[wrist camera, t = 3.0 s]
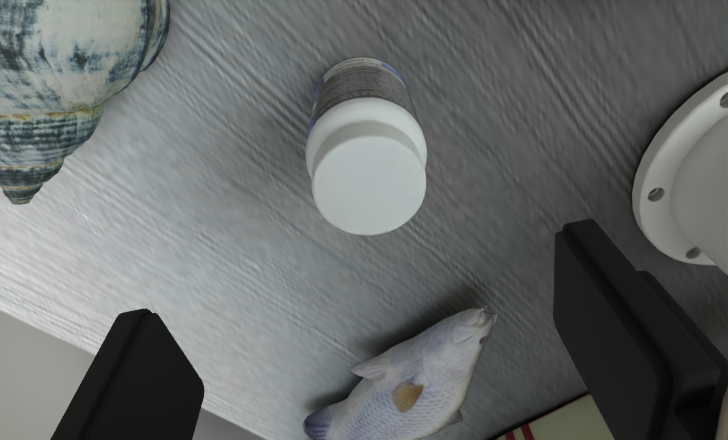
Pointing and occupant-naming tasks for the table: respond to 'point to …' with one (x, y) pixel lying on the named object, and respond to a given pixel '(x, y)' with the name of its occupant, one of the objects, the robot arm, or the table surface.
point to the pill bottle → (365, 148)
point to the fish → (410, 384)
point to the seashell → (65, 77)
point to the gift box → (565, 424)
